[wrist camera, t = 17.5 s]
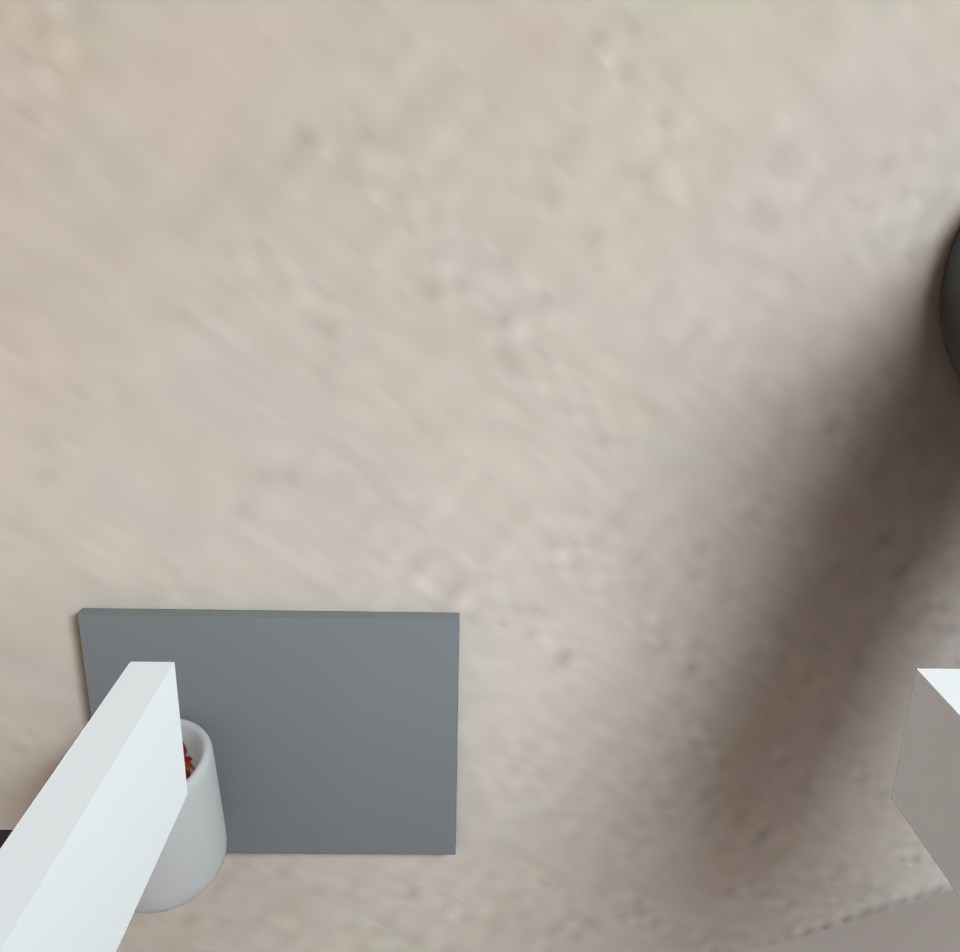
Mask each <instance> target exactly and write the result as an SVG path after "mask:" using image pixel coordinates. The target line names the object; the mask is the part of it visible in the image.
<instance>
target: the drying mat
mask: <svg viewBox="0 0 960 952" xmlns="http://www.w3.org/2000/svg"><path fill="white" fill-rule="evenodd" d="M77 616H78V623H79V631H80V638H81V646H82V653H83V661H84V668H85V676H86V683H87V691H88V698H89V706H90V713H91V717H92V716H93V715H94V713H95V712H96V710H97V709H98V707H99V706H100V705H101V703H102V702H103V700H104V699H105V697H106V696H107V694H108V693H109V692H110V690H111V689H112V687H113V686H114V684H115V683H116V682H117V680H118V679H119V677H120V676H121V674H122V673H123V671H124V670H125V669H126V667H127V666H128V664H129V663H130V662H175V672H176V682H177V692H178V702H179V712H180V719H185V720H188V721H191V722H193V723H195V724H197V725H199V726H200V727H201V728H203V729H204V730H205V732H206V733H207V734H208V736H209V738H210V740H211V742H212V746H213V752H214V758H215V764H216V771H217V777H218V783H219V789H220V796H221V802H222V808H223V814H224V821H225V828H226V837H227V845H226V853H299V854H455V848H456V788H457V727H458V666H459V613H422V612H341V611H260V610H179V609H98V608H83V609H82V610H81V611H80V613H79V614H78V615H77Z"/></svg>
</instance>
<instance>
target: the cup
mask: <svg viewBox="0 0 960 952" xmlns="http://www.w3.org/2000/svg"><path fill="white" fill-rule="evenodd" d="M180 722H181V732H182V742H183V752H184V762H185V772H186V782H187V792H188V794H187V796H186V799H185V801H184V803H183V805H182V808H181V810H180V812H179V814H178V816H177V819H176V821H175V823H174V825H173V827H172V830H171V832H170V834H169V836H168V838H167V841H166V843H165V845H164V847H163V850H162V852H161V854H160V856H159V858H158V861H157V863H156V865H155V867H154V869H153V872H152V874H151V876H150V878H149V880H148V883H147V885H146V887H145V889H144V892H143V894H142V896H141V898H140V900H139V903H138V905H137V907H136V909H135V911H134V912H138V913H159V912H163V911H168V910H171V909H174V908H176V907H178V906H181V905H183V904H185V903H187V902H188V901H190V900H192V899H193V898H194V897H196V896H197V895H199V894H200V893H201V892H202V891H203V890H204V889H205V888H206V887H208V885H209V884H210V883H211V882H212V881H213V880H214V878H215V877H216V875H217V874H218V872H219V870H220V868H221V866H222V864H223V861H224V858H225V854H226V845H227V837H226V828H225V821H224V814H223V808H222V802H221V796H220V789H219V783H218V777H217V771H216V764H215V758H214V752H213V746H212V742H211V740H210V738H209V736H208V734H207V733H206V732H205V730H204V729H203V728H201V727H200V726H199V725H197V724H195V723H193V722H191V721H188V720H185V719H180Z"/></svg>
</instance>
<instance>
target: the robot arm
mask: <svg viewBox="0 0 960 952" xmlns="http://www.w3.org/2000/svg"><path fill="white" fill-rule="evenodd" d="M941 320H942V328H943V334H944V338H945V342H946V346H947V349H948V352H949V355H950V357H951V359H952V362H953V364H954V366H955V368H956V370H957V371H958V373H959V375H960V231H959V233H958V236H957V238H956V240H955V242H954V245H953V247H952V250H951V253H950V255H949V259H948V262H947V266H946V270H945V274H944V279H943V285H942V294H941ZM187 794H188V792H187V782H186V772H185V762H184V752H183V742H182V732H181V722H180V712H179V702H178V692H177V682H176V672H175V662H130V663H129V664H128V666H127V667H126V669H125V670H124V671H123V673H122V674H121V676H120V677H119V679H118V680H117V682H116V683H115V684H114V686H113V687H112V689H111V690H110V692H109V693H108V694H107V696H106V697H105V699H104V700H103V702H102V703H101V705H100V706H99V707H98V709H97V710H96V712H95V713H94V715H93V716H92V717H91V719H90V720H89V722H88V723H87V725H86V726H85V728H84V729H83V730H82V732H81V733H80V735H79V736H78V738H77V739H76V740H75V742H74V743H73V745H72V746H71V748H70V749H69V751H68V752H67V753H66V755H65V756H64V758H63V759H62V761H61V762H60V763H59V765H58V766H57V768H56V769H55V771H54V772H53V774H52V775H51V776H50V778H49V779H48V781H47V782H46V784H45V785H44V787H43V788H42V789H41V791H40V792H39V794H38V795H37V797H36V798H35V799H34V801H33V802H32V804H31V805H30V807H29V808H28V810H27V811H26V812H25V814H24V815H23V817H22V818H21V820H20V821H19V822H18V824H17V825H16V827H15V828H14V830H0V952H116V951H117V949H118V947H119V945H120V942H121V940H122V938H123V936H124V934H125V931H126V929H127V927H128V925H129V923H130V920H131V918H132V916H133V914H134V911H135V909H136V907H137V905H138V903H139V900H140V898H141V896H142V894H143V892H144V889H145V887H146V885H147V883H148V880H149V878H150V876H151V874H152V872H153V869H154V867H155V865H156V863H157V861H158V858H159V856H160V854H161V852H162V850H163V847H164V845H165V843H166V841H167V838H168V836H169V834H170V832H171V830H172V827H173V825H174V823H175V821H176V819H177V816H178V814H179V812H180V810H181V808H182V805H183V803H184V801H185V799H186V796H187ZM891 798H892V800H893V801H894V803H895V804H896V806H897V807H898V808H899V810H900V811H901V813H902V814H903V816H904V817H905V819H906V820H907V822H908V823H909V824H910V826H911V827H912V829H913V830H914V832H915V833H916V835H917V836H918V838H919V839H920V840H921V842H922V843H923V845H924V846H925V848H926V849H927V851H928V852H929V854H930V855H931V856H932V858H933V859H934V861H935V862H936V864H937V865H938V867H939V868H940V869H941V871H942V872H943V874H944V875H945V877H946V878H947V880H948V881H949V883H950V884H951V885H952V887H953V888H954V890H955V891H956V893H957V894H958V896H959V897H960V669H916V674H915V679H914V684H913V689H912V694H911V700H910V705H909V710H908V715H907V720H906V725H905V730H904V735H903V740H902V745H901V750H900V755H899V761H898V766H897V771H896V776H895V781H894V786H893V791H892V796H891Z"/></svg>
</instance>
